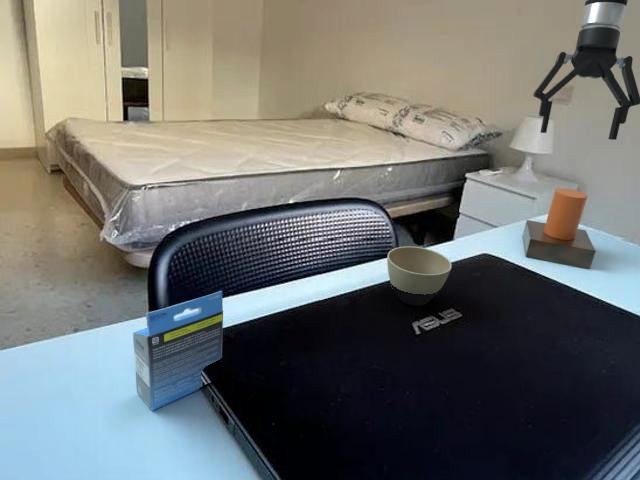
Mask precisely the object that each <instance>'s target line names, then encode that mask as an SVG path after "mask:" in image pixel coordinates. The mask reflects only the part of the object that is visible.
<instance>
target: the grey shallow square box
mask: <svg viewBox="0 0 640 480" xmlns="http://www.w3.org/2000/svg"><path fill="white" fill-rule="evenodd" d="M545 224H546V222H541V221H536V220H530V219H526V221H525V225H524V228H523V232H522V233H523V234H522V243H523V249H524V256H525V258H530V259H535V260H540V261H546V262H550V263H555V264H559V265H560V264H561V265H566V266H571V267H577V268H581V269H586V270H590V269H591V266H592V265H593V260H594V258H595V255H596V248H595V246H594V244H593V242H592V241H591V238H590V236H589V234H588V233H587V230H585V229H581V228H578V229H577V232H576V236H575V238H574V239H573V240H562V239H557V238H554V237H551V236H549V235H547V234H545V233H544V228H545Z"/></svg>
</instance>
